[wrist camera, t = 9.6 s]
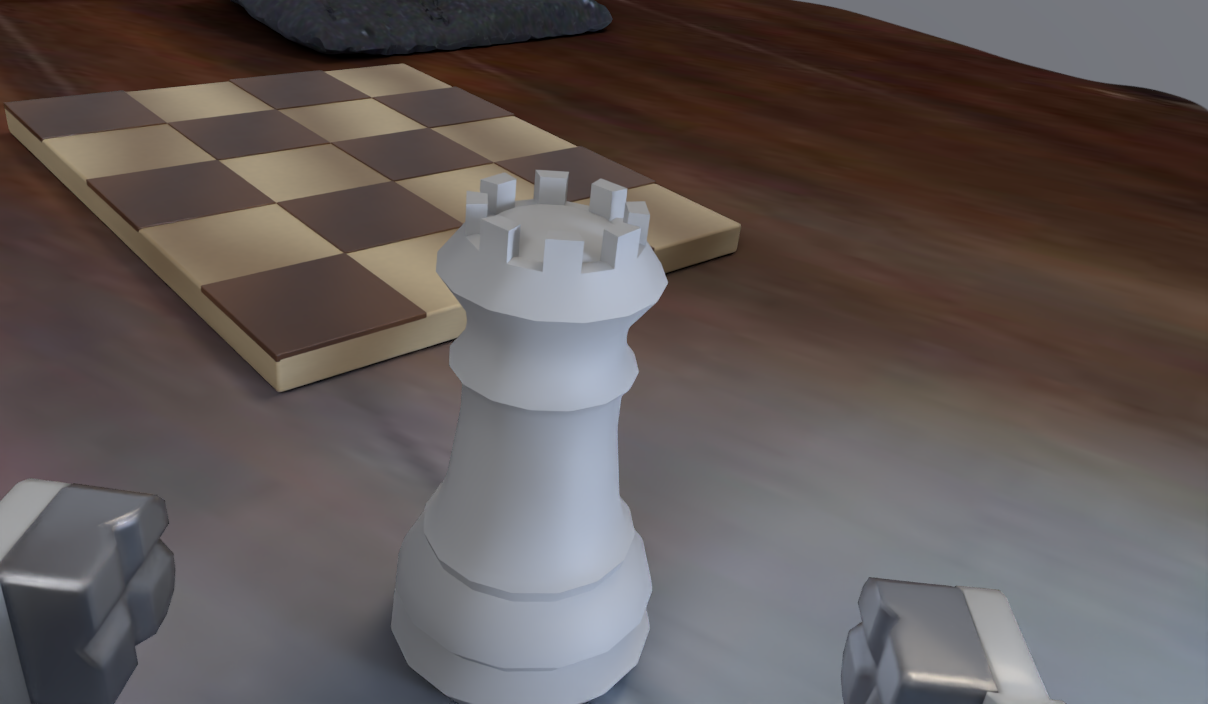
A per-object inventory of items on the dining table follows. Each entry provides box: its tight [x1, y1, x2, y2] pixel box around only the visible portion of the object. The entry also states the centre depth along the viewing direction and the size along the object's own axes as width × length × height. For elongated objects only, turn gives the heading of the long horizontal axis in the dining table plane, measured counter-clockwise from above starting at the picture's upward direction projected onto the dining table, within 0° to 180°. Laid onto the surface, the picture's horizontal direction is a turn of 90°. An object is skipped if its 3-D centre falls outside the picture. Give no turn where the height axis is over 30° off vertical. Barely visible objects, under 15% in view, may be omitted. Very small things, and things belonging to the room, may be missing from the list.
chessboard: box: [4, 64, 741, 392], centre depth 34 cm, size 16×20×1 cm
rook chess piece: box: [391, 170, 668, 704], centre depth 16 cm, size 4×4×8 cm
